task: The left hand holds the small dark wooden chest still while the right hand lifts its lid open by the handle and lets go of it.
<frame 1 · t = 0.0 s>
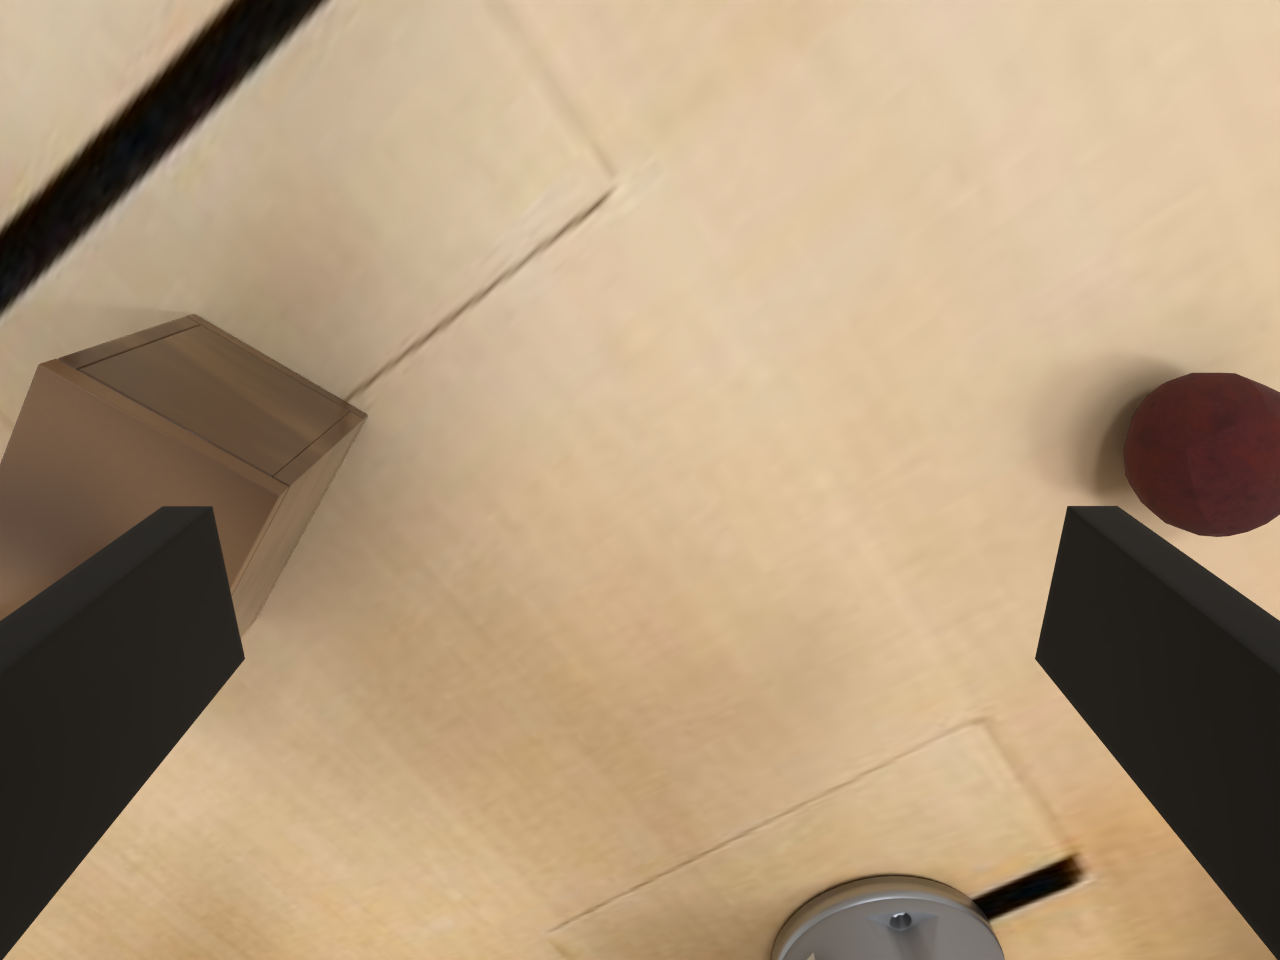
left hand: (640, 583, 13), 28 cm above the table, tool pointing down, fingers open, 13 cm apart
chest: (226, 478, 42), on the table
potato: (1164, 428, 41), on the table
lid: (31, 630, 29), point 14 cm above the table, hinge at 0.0°
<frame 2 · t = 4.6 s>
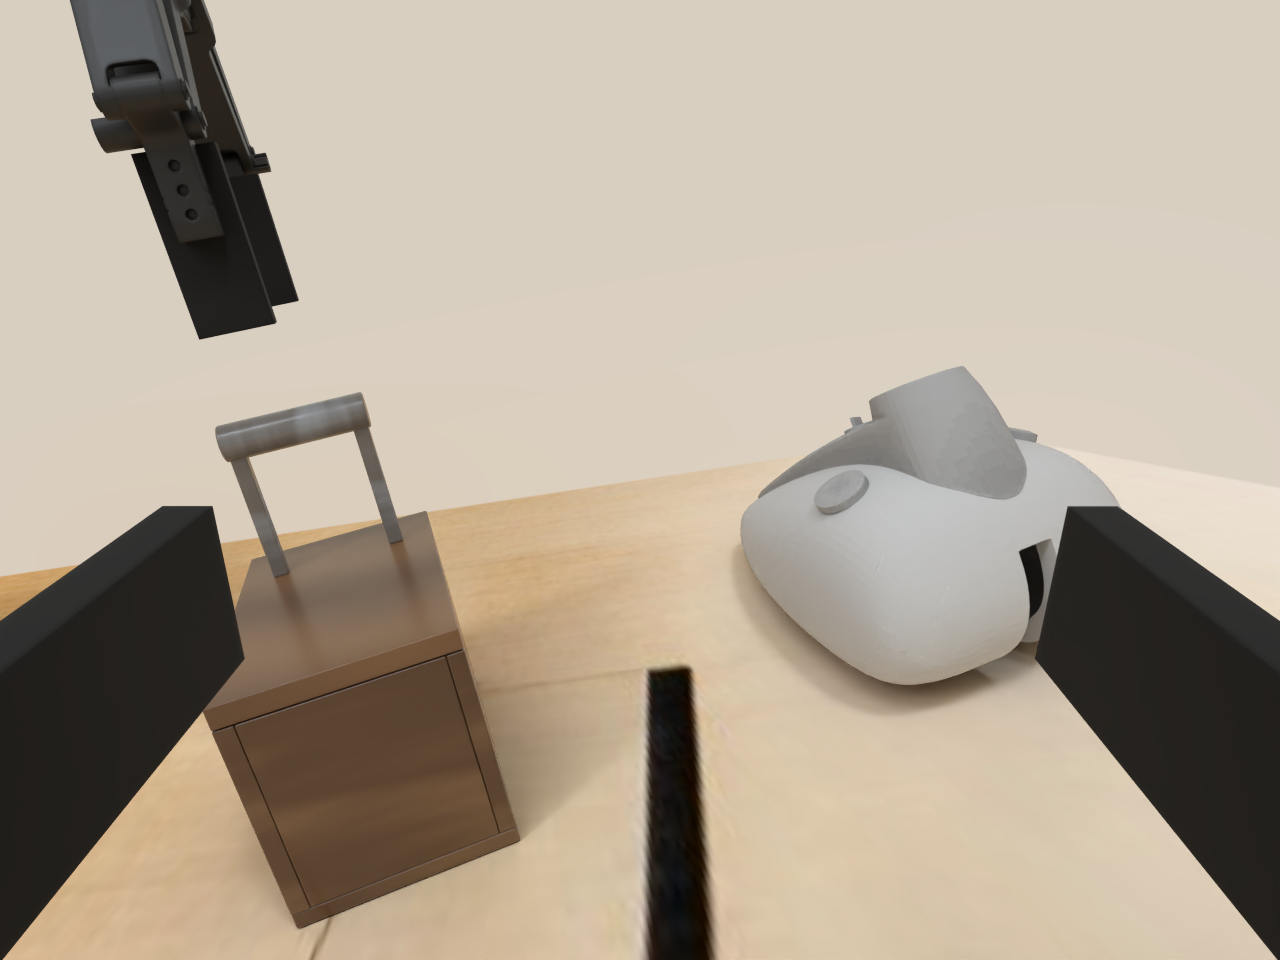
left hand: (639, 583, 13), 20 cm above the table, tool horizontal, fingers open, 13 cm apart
chest: (403, 779, 40), on the table
projector: (884, 597, 48), on the table
lid: (315, 520, 36), point 14 cm above the table, hinge at 0.0°
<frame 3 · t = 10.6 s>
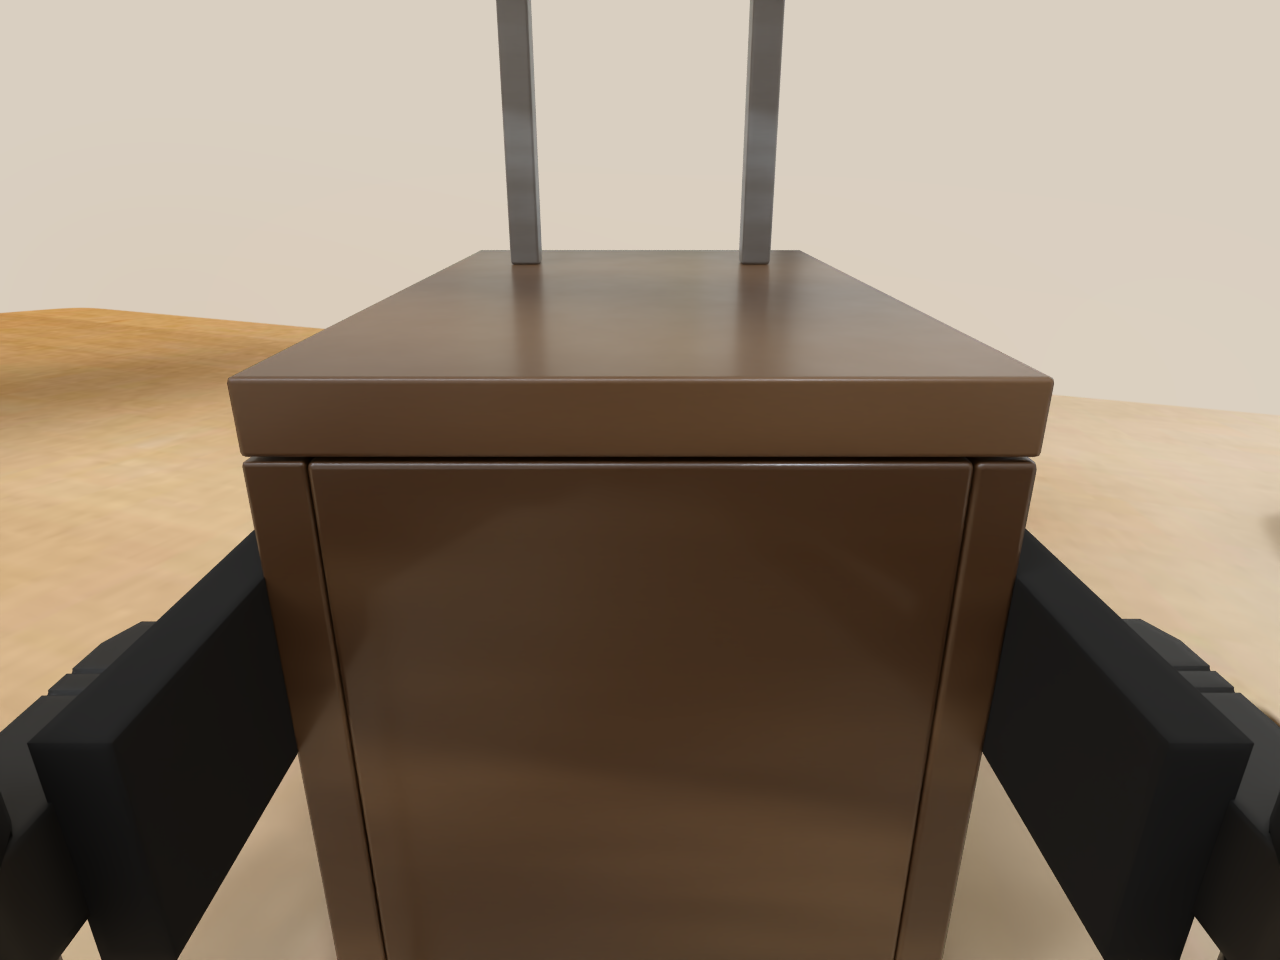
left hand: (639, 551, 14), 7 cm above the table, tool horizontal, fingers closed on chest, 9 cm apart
chest: (640, 733, 20), on the table, touching left hand
lid: (640, 96, 15), point 14 cm above the table, hinge at 0.0°
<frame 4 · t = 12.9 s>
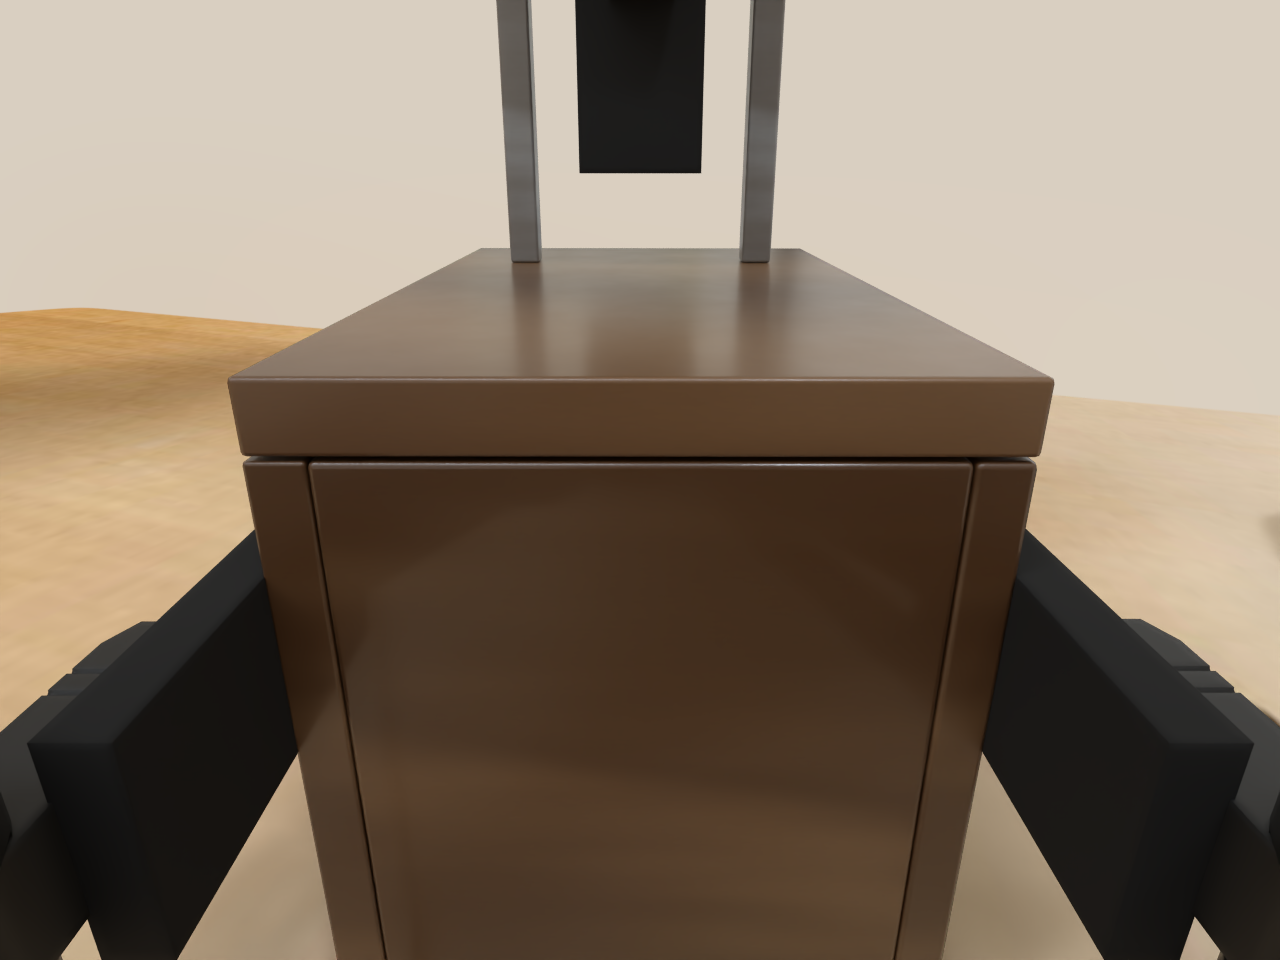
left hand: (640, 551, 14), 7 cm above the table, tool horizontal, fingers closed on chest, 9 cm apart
chest: (640, 733, 20), on the table, touching left hand
lid: (640, 94, 15), point 14 cm above the table, hinge at 0.2°, touching right hand
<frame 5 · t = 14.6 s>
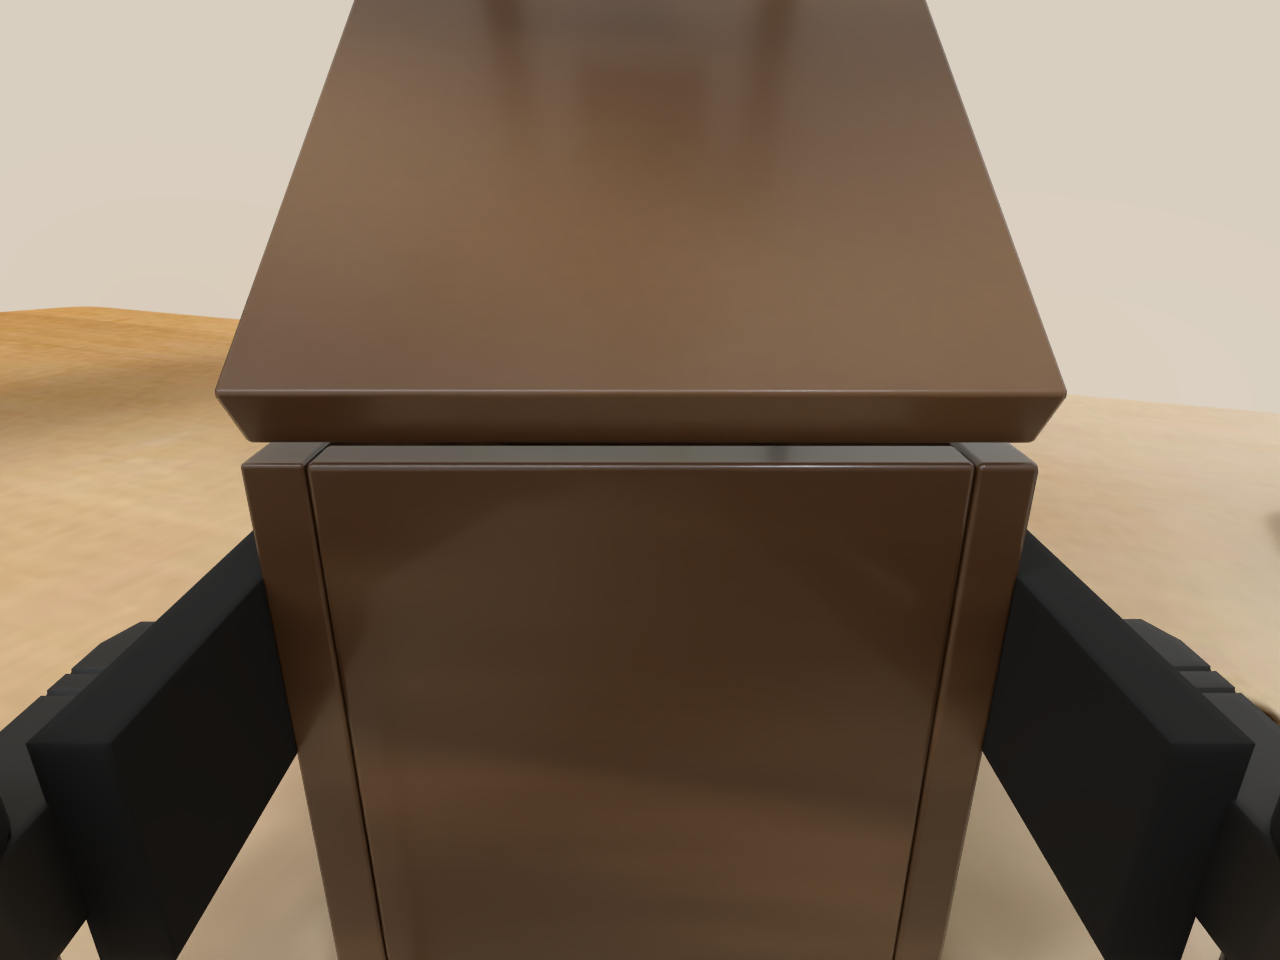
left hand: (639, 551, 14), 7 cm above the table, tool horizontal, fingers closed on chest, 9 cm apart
chest: (639, 730, 20), on the table, touching left hand
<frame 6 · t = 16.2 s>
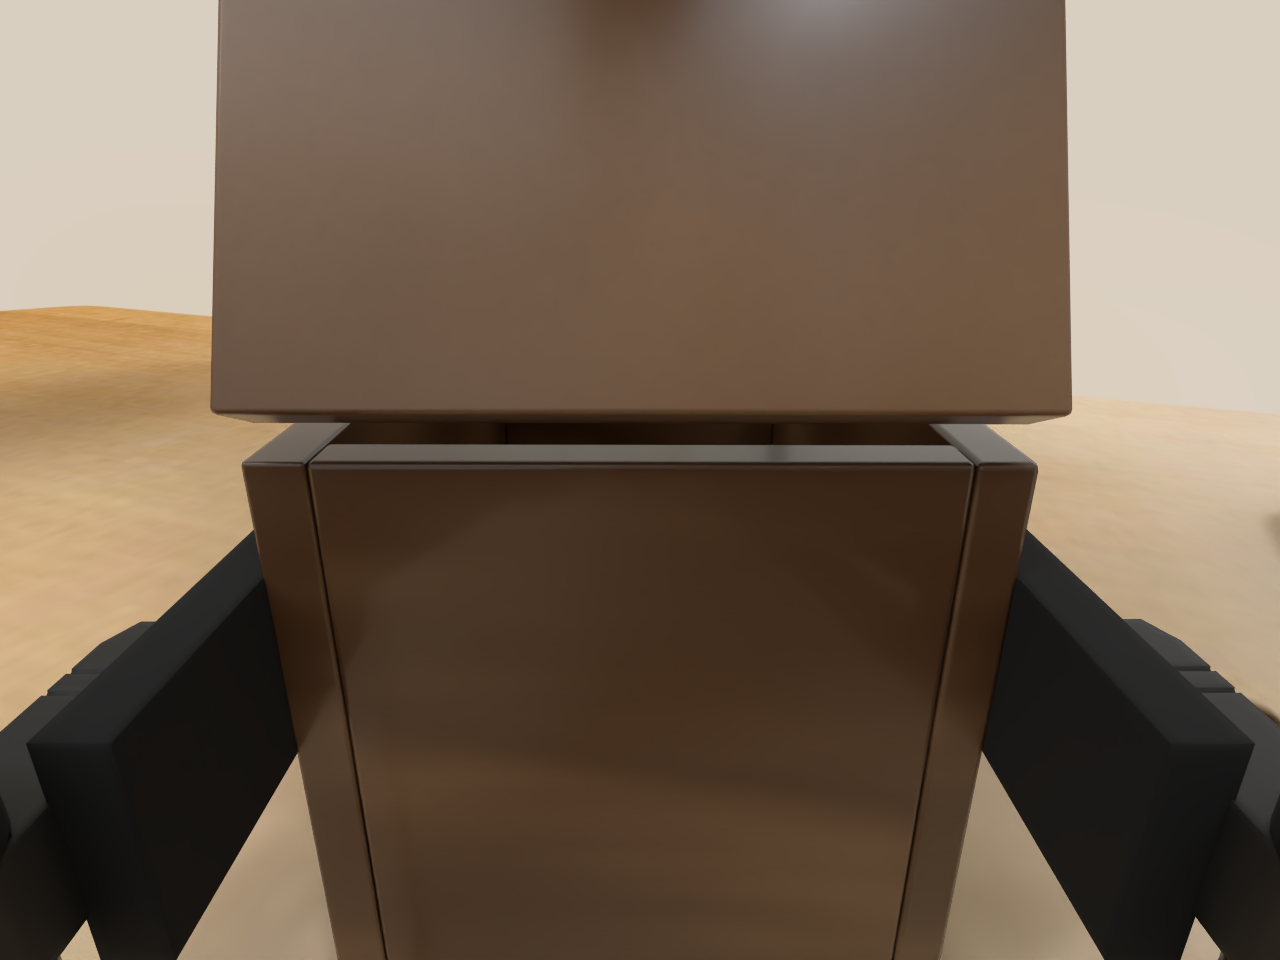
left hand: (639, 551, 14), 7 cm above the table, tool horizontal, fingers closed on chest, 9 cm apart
chest: (639, 730, 20), on the table, touching left hand
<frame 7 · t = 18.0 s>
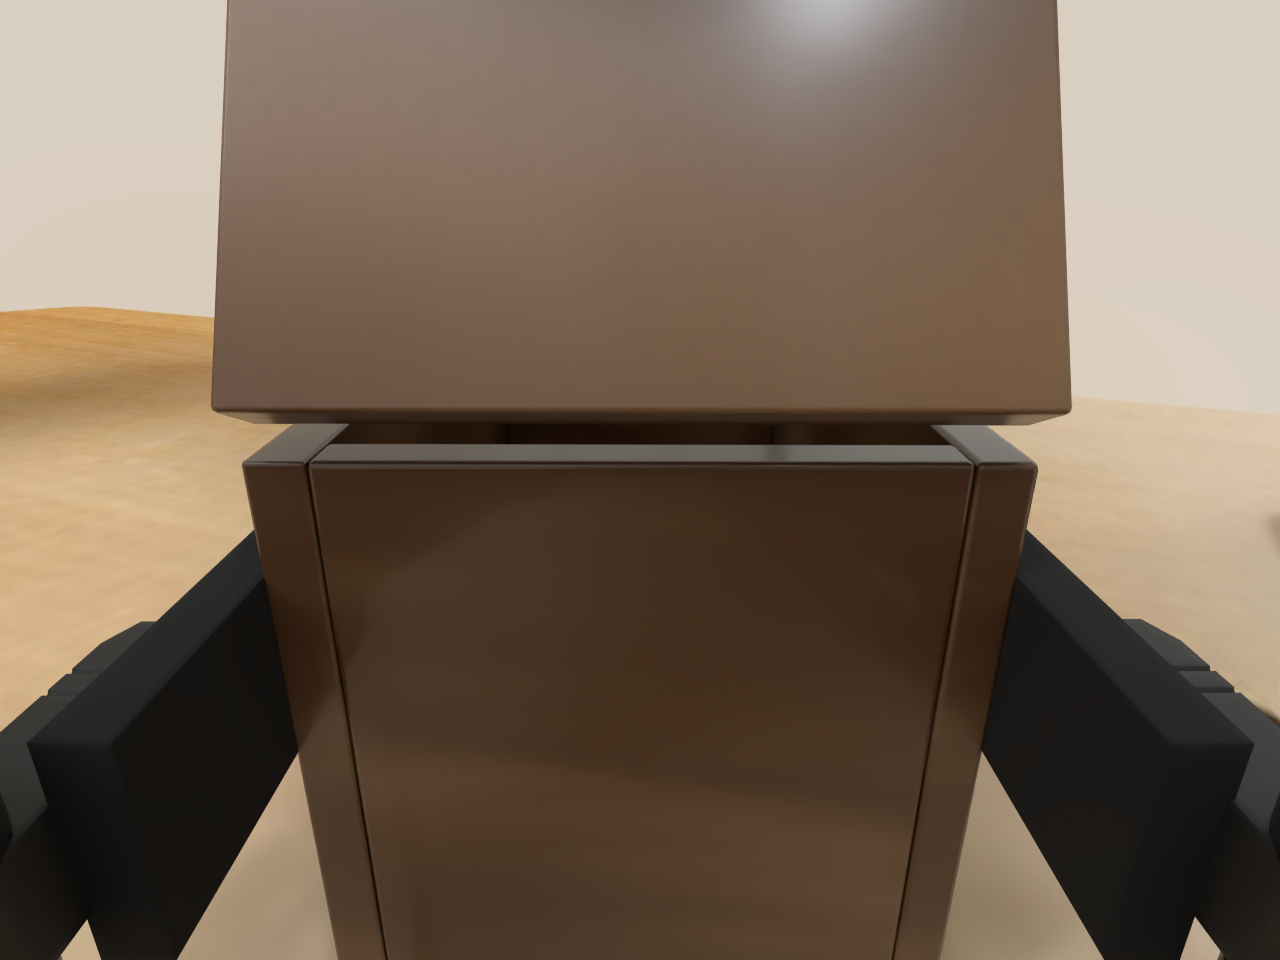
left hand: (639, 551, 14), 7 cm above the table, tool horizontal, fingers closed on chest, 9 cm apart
chest: (639, 730, 20), on the table, touching left hand
when the left hand's fingers open (7 cm above the table, at t = 20.5 s): chest stays where it is, on the table.
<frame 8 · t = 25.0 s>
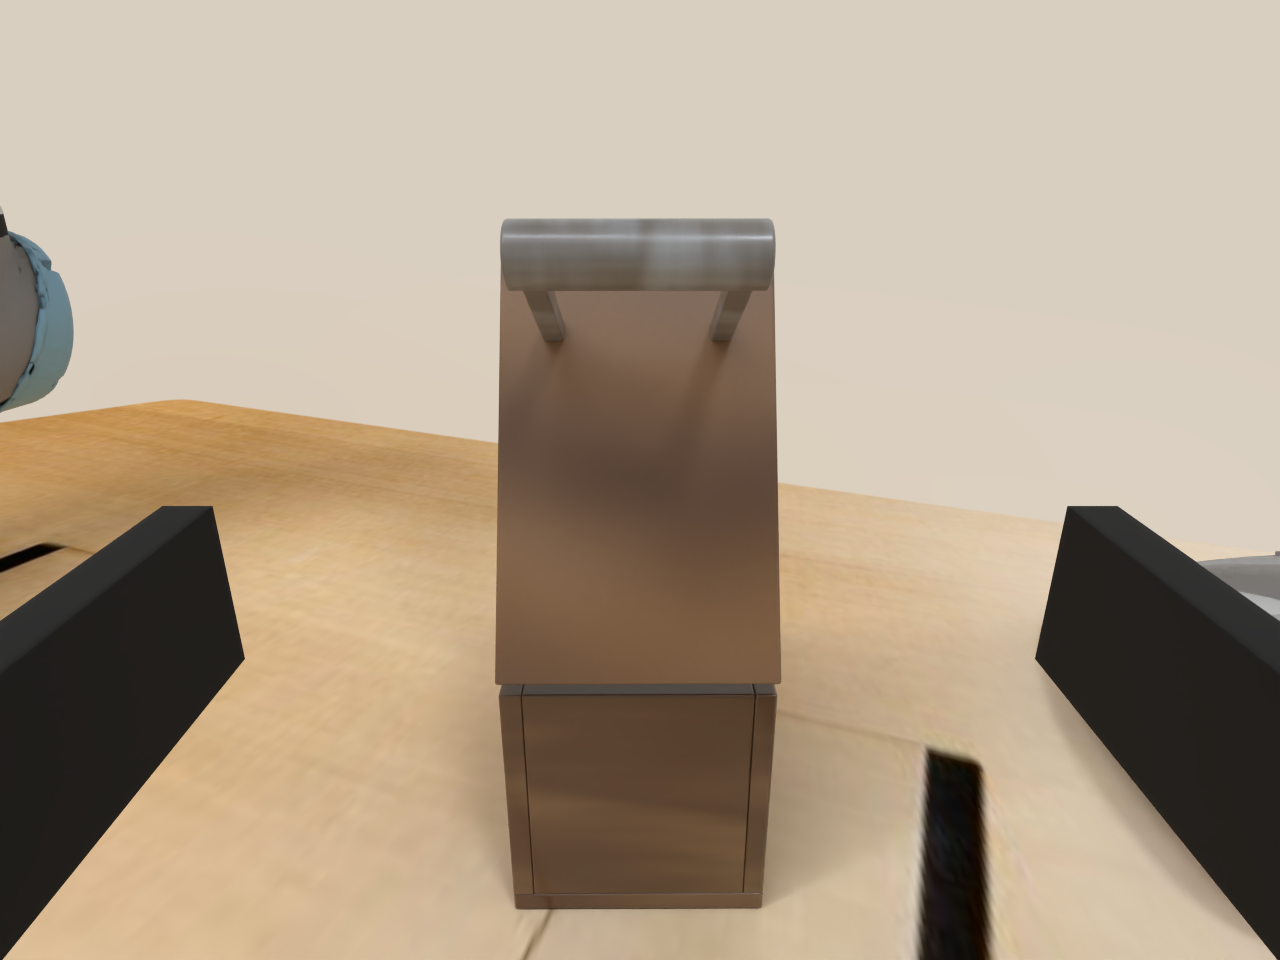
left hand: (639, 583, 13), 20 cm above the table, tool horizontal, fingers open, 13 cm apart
chest: (638, 774, 37), on the table
projector: (1252, 765, 38), on the table
lid: (637, 438, 23), point 19 cm above the table, hinge at 63.7°
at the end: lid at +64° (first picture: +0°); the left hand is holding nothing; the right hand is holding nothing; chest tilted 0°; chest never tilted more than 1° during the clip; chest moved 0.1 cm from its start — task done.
